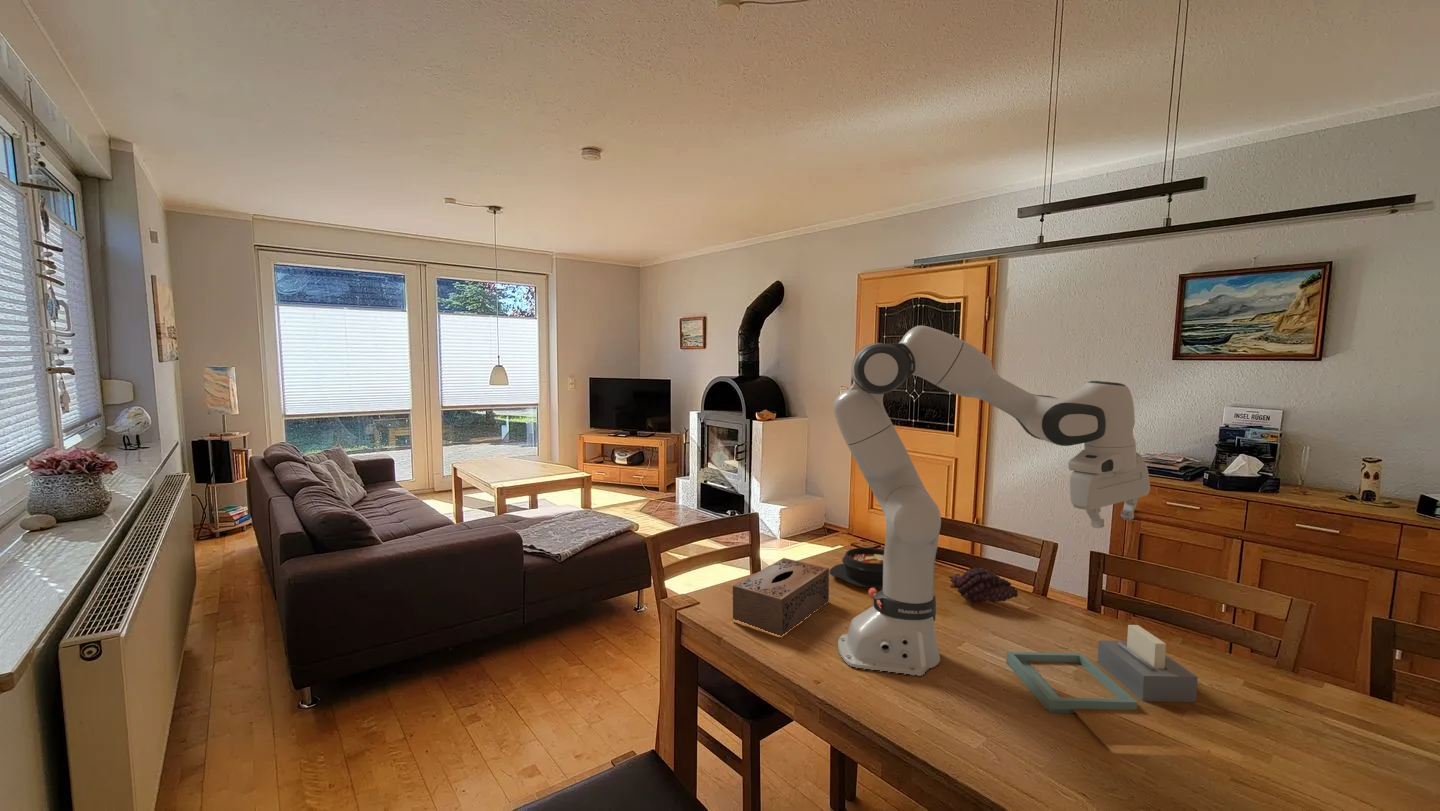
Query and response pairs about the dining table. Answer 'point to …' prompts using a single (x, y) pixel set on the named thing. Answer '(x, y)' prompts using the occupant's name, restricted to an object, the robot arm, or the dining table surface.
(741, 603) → the tissue box cover
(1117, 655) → the holder
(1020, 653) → the teal flat frame
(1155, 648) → the cream flat slab
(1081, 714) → the dining table surface
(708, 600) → the dining table surface
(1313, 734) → the dining table surface
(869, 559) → the casserole
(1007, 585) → the pine cone
